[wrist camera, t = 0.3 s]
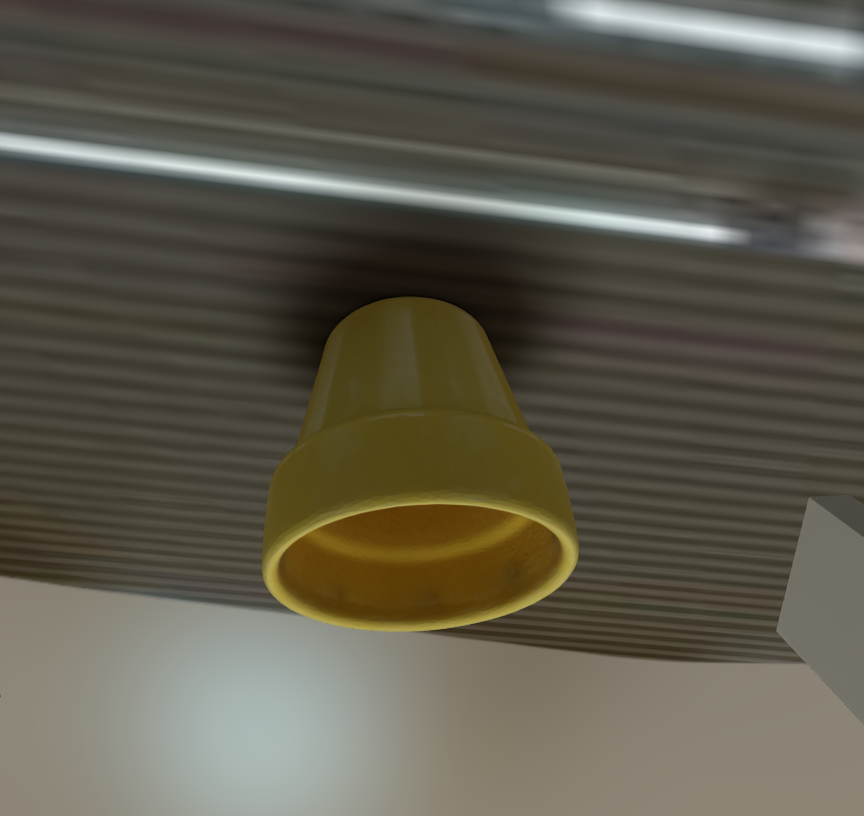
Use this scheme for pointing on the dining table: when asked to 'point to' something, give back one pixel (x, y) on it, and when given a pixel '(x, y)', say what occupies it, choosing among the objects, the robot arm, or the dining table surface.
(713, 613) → the dining table surface
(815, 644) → the robot arm
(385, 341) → the plant pot
